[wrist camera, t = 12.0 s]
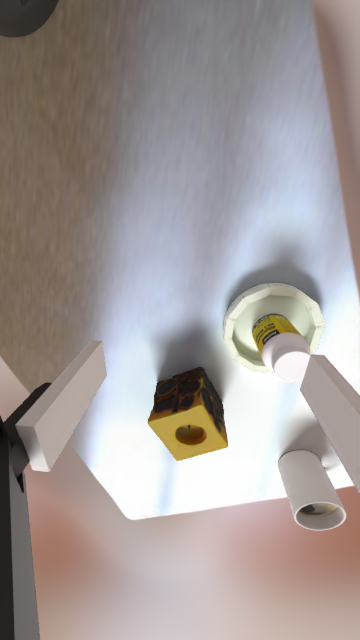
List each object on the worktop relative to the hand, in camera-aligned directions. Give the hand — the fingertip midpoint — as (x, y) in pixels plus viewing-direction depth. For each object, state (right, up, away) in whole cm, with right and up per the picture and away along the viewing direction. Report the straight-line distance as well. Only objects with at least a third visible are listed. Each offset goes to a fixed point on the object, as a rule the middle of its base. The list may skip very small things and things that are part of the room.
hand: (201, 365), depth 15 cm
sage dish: (+14, +2, +24) cm, 27 cm away
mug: (+26, -30, +36) cm, 53 cm away
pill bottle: (+13, +2, +23) cm, 27 cm away
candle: (+1, -12, +31) cm, 33 cm away
